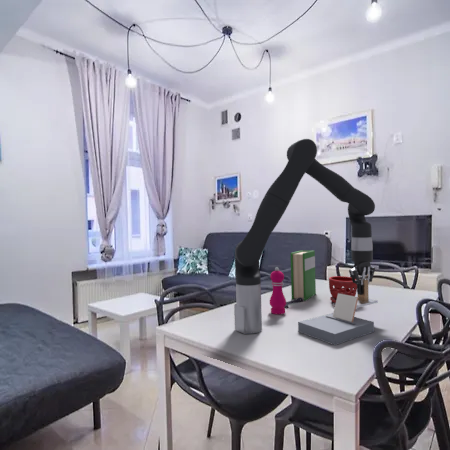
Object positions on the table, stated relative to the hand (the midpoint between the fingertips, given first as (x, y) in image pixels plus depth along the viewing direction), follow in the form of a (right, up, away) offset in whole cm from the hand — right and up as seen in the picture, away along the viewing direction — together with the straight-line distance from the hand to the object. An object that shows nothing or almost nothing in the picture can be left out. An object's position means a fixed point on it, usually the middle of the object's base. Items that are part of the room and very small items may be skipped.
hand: (362, 293), depth 122 cm
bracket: (-21, -13, +34) cm, 42 cm away
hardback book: (-11, -12, +47) cm, 50 cm away
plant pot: (+5, -12, +32) cm, 34 cm away
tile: (-9, -4, -6) cm, 11 cm away
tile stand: (-14, -12, -9) cm, 20 cm away
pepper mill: (-30, -12, +17) cm, 37 cm away
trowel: (-2, -3, -2) cm, 4 cm away
